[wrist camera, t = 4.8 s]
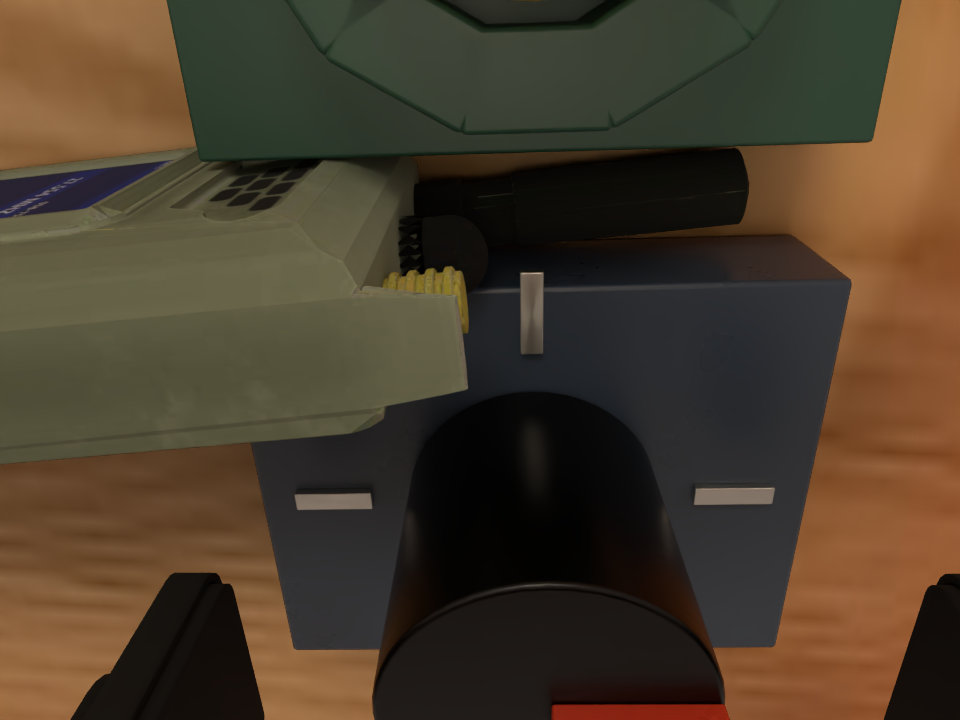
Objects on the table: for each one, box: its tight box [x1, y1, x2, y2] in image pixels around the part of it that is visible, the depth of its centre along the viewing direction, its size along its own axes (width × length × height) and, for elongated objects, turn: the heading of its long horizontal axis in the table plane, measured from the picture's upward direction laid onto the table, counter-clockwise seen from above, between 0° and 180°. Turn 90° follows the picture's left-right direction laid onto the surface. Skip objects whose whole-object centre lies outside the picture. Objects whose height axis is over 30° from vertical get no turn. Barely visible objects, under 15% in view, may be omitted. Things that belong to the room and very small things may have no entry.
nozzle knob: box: [372, 391, 730, 720], centre depth 11 cm, size 4×4×5 cm
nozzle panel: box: [251, 235, 852, 650], centre depth 14 cm, size 10×9×3 cm
